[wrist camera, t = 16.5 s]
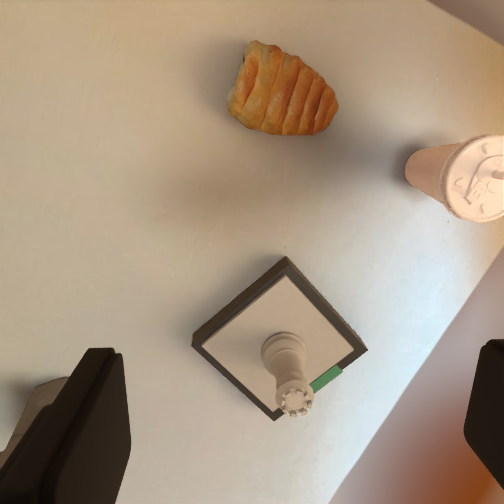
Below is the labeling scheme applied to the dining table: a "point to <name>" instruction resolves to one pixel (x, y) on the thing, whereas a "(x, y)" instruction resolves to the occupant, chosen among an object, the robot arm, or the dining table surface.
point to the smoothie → (463, 176)
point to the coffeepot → (32, 412)
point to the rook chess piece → (288, 373)
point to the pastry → (280, 93)
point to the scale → (275, 323)
